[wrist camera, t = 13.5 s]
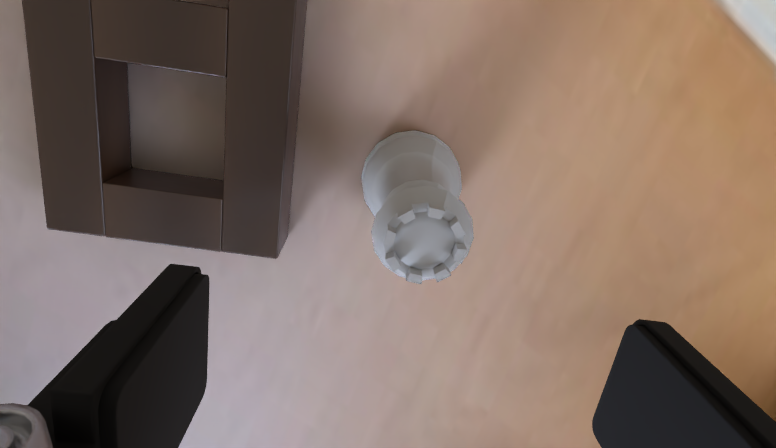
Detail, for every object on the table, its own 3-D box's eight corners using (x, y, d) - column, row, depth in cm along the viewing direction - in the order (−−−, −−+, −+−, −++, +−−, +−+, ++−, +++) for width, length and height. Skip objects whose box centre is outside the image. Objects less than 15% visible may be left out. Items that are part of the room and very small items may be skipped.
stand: (81, 210, 22) (46, 229, 20) (44, -249, 16) (-13, -298, 14) (288, 237, 23) (277, 259, 20) (323, -195, 17) (314, -234, 15)
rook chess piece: (388, 110, 21) (392, 148, 13) (477, 155, 21) (528, 215, 14) (345, 198, 22) (326, 277, 15) (430, 237, 23) (453, 331, 15)
